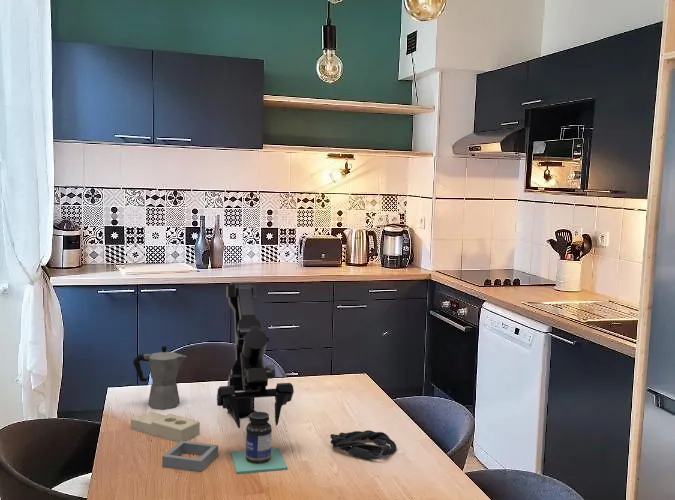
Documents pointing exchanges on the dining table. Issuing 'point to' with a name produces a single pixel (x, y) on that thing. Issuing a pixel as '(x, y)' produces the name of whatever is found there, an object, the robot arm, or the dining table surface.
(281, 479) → the dining table surface
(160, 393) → the coffeepot
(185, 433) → the electrical outlet
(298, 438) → the dining table surface
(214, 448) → the collar
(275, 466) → the mat
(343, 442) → the cable
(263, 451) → the pill bottle
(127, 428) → the dining table surface
